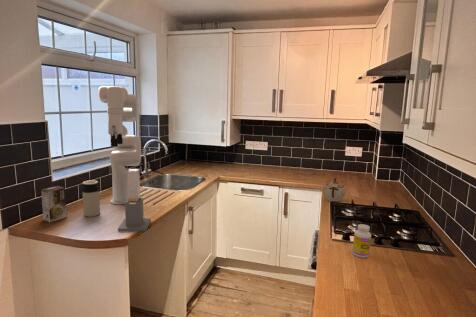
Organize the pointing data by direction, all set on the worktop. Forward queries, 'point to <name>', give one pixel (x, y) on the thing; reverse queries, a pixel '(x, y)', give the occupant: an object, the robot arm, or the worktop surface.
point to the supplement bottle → (362, 241)
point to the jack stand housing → (134, 217)
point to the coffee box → (54, 203)
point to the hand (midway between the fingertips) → (116, 145)
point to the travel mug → (91, 198)
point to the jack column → (133, 185)
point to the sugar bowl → (334, 191)
